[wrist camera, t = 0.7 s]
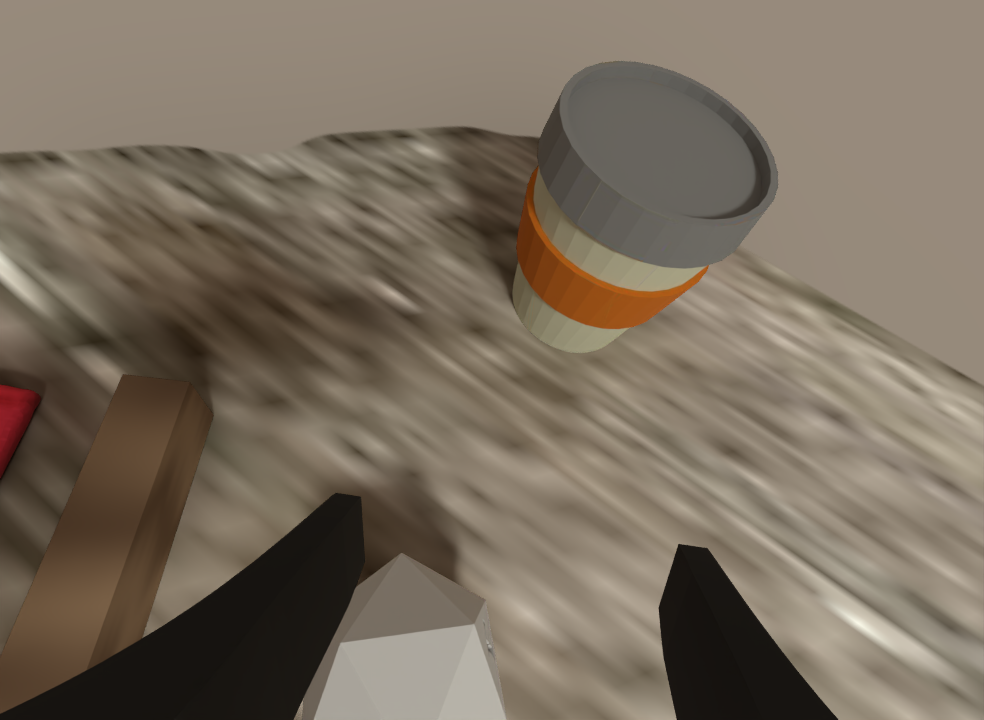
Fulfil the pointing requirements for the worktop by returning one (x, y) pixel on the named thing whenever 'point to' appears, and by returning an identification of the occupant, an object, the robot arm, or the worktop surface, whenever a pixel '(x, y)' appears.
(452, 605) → the die
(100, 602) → the brown wooden bar
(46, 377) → the worktop surface
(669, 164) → the reusable coffee cup
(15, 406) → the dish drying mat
